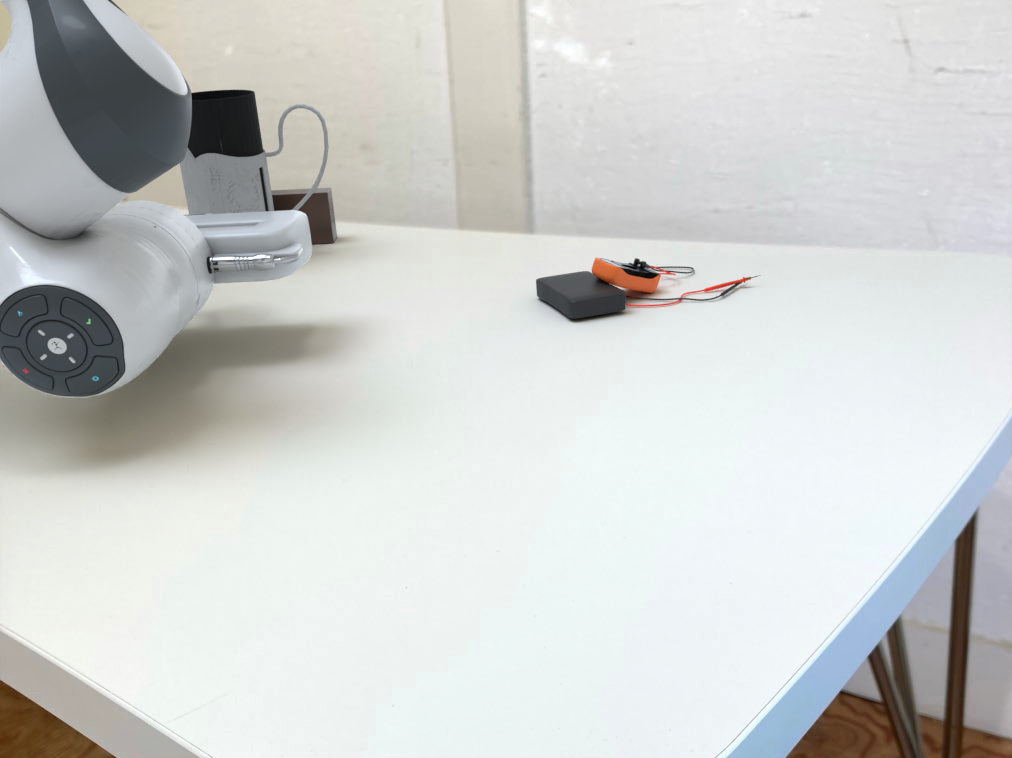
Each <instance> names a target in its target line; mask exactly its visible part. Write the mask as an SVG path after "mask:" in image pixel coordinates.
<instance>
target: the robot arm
mask: <svg viewBox="0 0 1012 758" xmlns="http://www.w3.org/2000/svg"><path fill="white" fill-rule="evenodd" d="M0 3H1V5H3V7H4V8H5V9H6V10H7V11H8V13H9V16H10V22H11V23H10V33H9V36H8V40H7V42H6V43H5V45H4V47H3V48H2V50H1V51H0V363H1V364H2V365H3V367H4V368H5V369H6V370H7V371H8V372H9V373H10V374H11V375H12V376H14V377H15V379H17V380H18V381H19V382H20V383H22V384H24V385H25V386H27V387H29V388H31V389H33V390H35V391H38V392H40V393H42V394H46V395H50V396H54V397H59V398H70V399H84V398H85V399H86V398H93V397H99V396H101V395H105V394H107V393H111V392H113V391H115V390H117V389H120V388H121V387H123V386H126V385H127V384H128V383H130V382H131V381H133V380H134V379H136V378H137V377H139V376H140V375H141V374H143V372H145V371H146V369H148V368H149V367H150V366H151V365H152V364H153V363H154V362H155V361H156V360H158V358H159V357H160V356H161V355H162V354H163V353H164V352H165V350H166V349H167V348H168V347H169V346H170V344H171V342H172V340H173V339H174V338H175V337H176V336H177V335H178V334H180V332H182V331H183V330H184V328H185V327H186V326H187V325H188V324H189V323H190V322H191V321H192V319H194V317H195V316H196V315H197V314H198V313H199V311H201V309H202V308H203V307H204V306H205V304H206V303H207V302H208V299H209V298H210V295H211V294H212V291H213V287H214V284H233V283H256V282H267V281H268V282H269V281H275V280H280V279H283V278H286V277H288V276H290V275H292V274H294V273H295V272H297V271H298V270H300V269H301V268H302V267H303V266H305V265H306V263H307V262H309V261H310V259H311V258H312V255H313V244H312V242H311V234H310V227H309V222H308V218H307V215H306V214H305V213H303V212H301V211H297V210H284V211H265V212H245V213H226V214H212V213H209V214H193V215H189V214H184V213H182V212H180V211H179V210H178V209H175V208H173V207H172V206H170V205H167V204H164V203H162V202H157V201H153V200H146V199H145V200H144V199H137V200H129V201H125V202H122V201H123V200H124V199H126V198H127V197H128V196H129V195H130V194H132V193H136V192H138V191H140V190H141V189H142V188H144V187H145V186H147V185H149V184H151V183H152V182H153V181H155V180H156V179H158V178H159V177H161V176H163V175H165V174H166V173H167V172H169V171H170V170H171V169H173V168H174V167H177V166H178V165H180V163H181V162H182V161H183V160H184V158H185V155H186V151H187V147H188V142H189V136H190V130H191V120H192V96H191V93H192V90H191V86H190V84H189V83H188V81H187V79H186V78H185V76H184V75H183V73H182V72H181V70H180V69H179V67H178V65H177V64H176V62H175V60H174V59H173V58H172V56H171V55H170V54H169V53H168V52H167V50H165V48H164V47H163V46H162V44H160V43H159V42H158V41H157V39H156V38H155V37H153V36H152V35H151V34H150V33H149V32H148V31H147V30H146V29H144V28H143V26H141V25H140V24H139V23H138V22H137V21H135V20H134V19H132V18H131V17H130V16H129V15H128V14H127V13H126V12H125V10H123V9H122V8H121V7H120V6H118V5H117V3H115V2H114V1H113V0H0ZM120 202H122V203H120Z"/></svg>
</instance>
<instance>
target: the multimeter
mask: <svg viewBox="0 0 1012 758" xmlns="http://www.w3.org/2000/svg"><path fill="white" fill-rule="evenodd" d="M665 269H690V270H691V271H678V270H665ZM694 271H695V268H694V267H691V266H677V265H676V266H673V265H671V266H670V265H669V266H667V265H666V266H655V265H650V264H648V263H647V262H646V261H645V260H640V258H638V257H634V259H633V262H628V263H627V262H620V261H614V260H610V259H608V258H603V257H597V256H596V257H594V261H593V263H592V265H591V271H589V270H583V271H582V270H581V271H574V272H567V273H561V274H556V275H549V276H543V277H539V278H537V279H536V280H535V286H536V287H535V288H536V297H537V298H538V299H540V300H542V301H544V302H546V303H547V304H549V305H551V306H552V307H553V308H555V309H557V310H558V311H559V312H561V313H562V314H563V315H565V316H566V317H567V318H569V319H583V318H589V317H595V316H600V315H606V314H612V313H617V312H622V311H624V310H626V307H627V306H628V307H639V308H641V307H642V308H644V307H646V308H647V307H659V306H660V307H663V306H669V305H674V304H678V303H679V302H681V301H682V300H683V301H684V300H685V301H695V302H696V301H697V302H705V301H712V300H715V299H716V300H717V299H718V298H720V297H724V296H725V295H727V294H728V293H730V292H731V291H733V290H734V289H735V288H737V287H738V286H739V285H741V284H742V283H744V284H745V283H746V282H747V281H751V280H752V279H754V278H758V277H760V276H762V275H761V274H758V275H755V276H747V277H745V276H742V278H741V279H736V280H732V281H728V282H727V281H726V282H723V283H719V284H715V285H712V286H709V287H705V288H704V289H700V290H694V291H688V292H683V293H682V294H681V295H680V296H679V297H672V298H671V297H670V298H654V297H640V296H639V297H638V296H631V295H627V294H626V291H625V290H624V289H626V290H633V291H638V292H643V293H649V294H653V293H655V292H656V290H657V288H658V285H659V284H660V280H661V276H662V275H664V276H665V275H670V276H677V274H685V275H686V274H688V275H689V274H692V273H694ZM727 287H728V288H727ZM723 288H727V289H725V290H723V291H722V292H721V293H720V294H719V295H716V296H714V297H710V298H692V297H690V298H689V297H683V296H686V295H689V294H697V293H702V292H710V291H715V290H718V289H723ZM627 298H628V299H635V300H649V301H672V302H666V303H657V304H655V303H654V304H630V303H626V301H627Z"/></svg>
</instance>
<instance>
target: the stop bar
mask: <svg viewBox="0 0 1012 758" xmlns="http://www.w3.org/2000/svg"><path fill="white" fill-rule="evenodd" d="M310 189H311V188H296V189H295V188H294V189H275V190H274V189H273V190H272V189H271V192H272V199H273V206H274V211H284V210H292V209H293V208H294V207H295V206H296V205H297V204H298V203H299V202H300V201H301V200H302V199H303V198H304V197H305V195H306V194H307V193H308V192H309V191H310ZM334 207H335V206H334V200H333V191H332V187H318V188H317V189H316V190H315V191H314V193H313V194H312V195H311V196H310V197H309V198H308V199H307V201H306V202H305V203H304V204H303V205H302V206H301V207H300V208H299V209H298V210H297V211H301V212H303V213H305V214H306V215H307V218H308V222H309V227H310V234H311V242H312V245H319V244H321V245H322V244H334V243H335V241H336V240H337V238H338V232H337V223H336V216H335V208H334Z"/></svg>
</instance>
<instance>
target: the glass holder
mask: <svg viewBox="0 0 1012 758" xmlns="http://www.w3.org/2000/svg"><path fill="white" fill-rule="evenodd" d="M191 96H192V120H191V130H190V136H189V142H188V147H187V151H186V155H185V158H184V160H183V161H182V162H181V163H179V167H180V174H181V178H182V184H183V189H184V194H185V200H186V205H187V212H188V215H193V214H209V213H212V214H226V213H245V212H265V211H274V206H273V199H272V192H271V190H272V187H271V181H270V172H269V167H268V159H267V158H272V157H276V156H278V155H280V154H281V153H282V151H283V148H284V132H283V131H284V124H285V119H286V118H287V116H288V115H289V114H290V113H291V112H292V111H295V110H298V109H304V110H307V111H310V112H312V113H314V114H315V115H316V116H317V119H318V120H319V121H320V123H321V127H322V131H323V145H324V147H323V156H322V163H321V165H320V169H319V172H318V175H317V177H316V179H315V181H314V184H312V186H311V188H309V189H310V191H309V192H308V193H307V194H306V195H305V197H304V198H303V199H302V200H301V201H300V202H299V203H298V204H297V205H296V206H295V207H294V208H293V209H292V210H298V209H299V208H300V207H301V206H302V205H303V204H304V203H305V202H306V201H307V199H308V198H309V197H310V196H311V195H312V194H313V193H314V191H315V190H316V189H317V188H319V186H320V184H321V181H322V179H323V177H324V173H325V170H326V166H327V163H328V157H329V134H328V128H327V124H326V120H325V118H324V117H323V115H322V114H321V112H320V111H319V110H317V109H316V108H314V106H311V105H307V104H304V103H296V104H294V105H291V106H289V107H288V108H286V109H285V110H284V111H283V113H282V114H281V116H280V118H279V121H278V124H277V125H278V126H277V134H278V135H277V136H278V149H277V150H275V151H271V152H268V151H267V152H266V149H264V145H263V139H262V133H261V126H260V119H259V113H258V105H257V101H256V92H255V91H254V90H251V89H250V90H249V89H216V90H203V91H195V92H191Z"/></svg>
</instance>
